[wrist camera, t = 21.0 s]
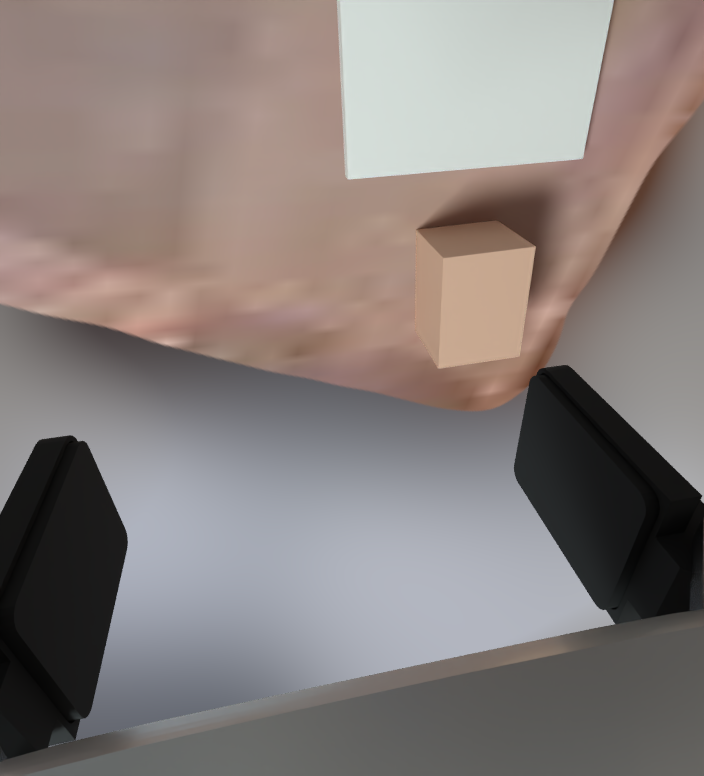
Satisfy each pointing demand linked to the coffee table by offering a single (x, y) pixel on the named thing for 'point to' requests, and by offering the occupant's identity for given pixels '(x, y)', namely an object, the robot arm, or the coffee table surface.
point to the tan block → (471, 292)
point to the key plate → (467, 82)
